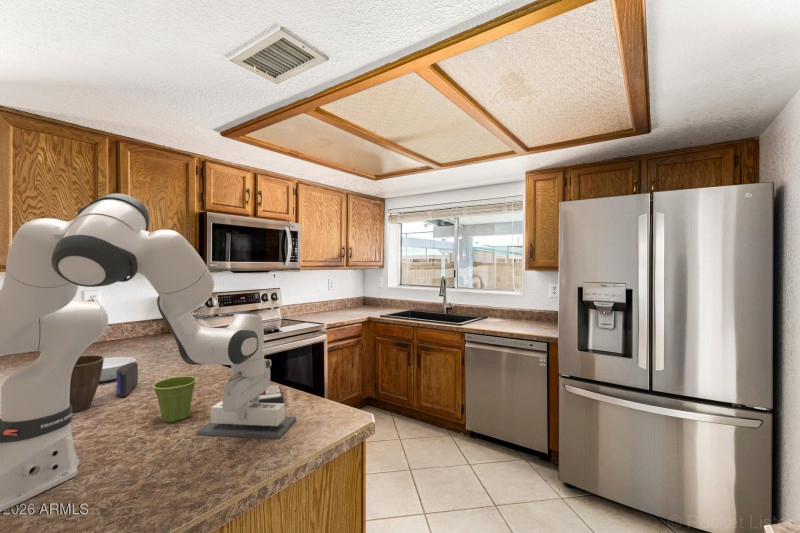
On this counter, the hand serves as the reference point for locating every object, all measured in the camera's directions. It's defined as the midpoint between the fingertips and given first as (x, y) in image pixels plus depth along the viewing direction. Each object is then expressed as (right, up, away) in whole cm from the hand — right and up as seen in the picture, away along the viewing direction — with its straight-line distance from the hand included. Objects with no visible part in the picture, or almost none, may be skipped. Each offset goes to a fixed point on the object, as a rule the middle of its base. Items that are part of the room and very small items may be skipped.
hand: (248, 415), depth 107 cm
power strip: (0, -2, 0) cm, 2 cm away
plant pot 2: (-25, -4, +7) cm, 27 cm away
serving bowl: (-79, -4, +47) cm, 92 cm away
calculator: (-3, -4, +20) cm, 21 cm away
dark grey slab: (-58, -4, +32) cm, 66 cm away
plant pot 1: (-63, -4, +14) cm, 65 cm away
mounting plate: (0, -4, 0) cm, 4 cm away
